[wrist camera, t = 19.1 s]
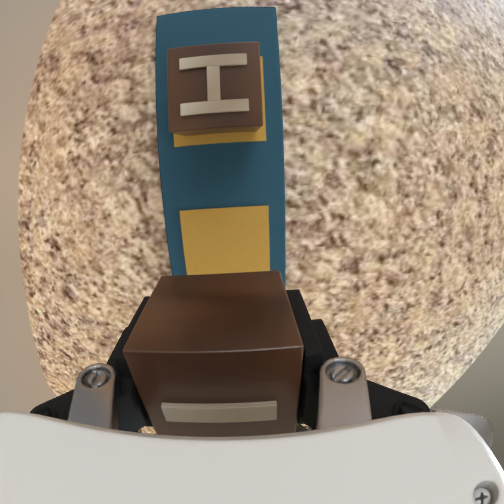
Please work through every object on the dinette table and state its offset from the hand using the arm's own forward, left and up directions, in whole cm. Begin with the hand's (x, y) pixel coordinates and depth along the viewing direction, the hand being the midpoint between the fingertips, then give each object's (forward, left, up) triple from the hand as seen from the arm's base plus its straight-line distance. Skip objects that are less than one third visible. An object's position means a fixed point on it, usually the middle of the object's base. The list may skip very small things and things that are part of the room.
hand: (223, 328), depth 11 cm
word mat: (0, +5, -10) cm, 11 cm away
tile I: (0, 0, 0) cm, 0 cm away
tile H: (0, +10, -9) cm, 13 cm away
